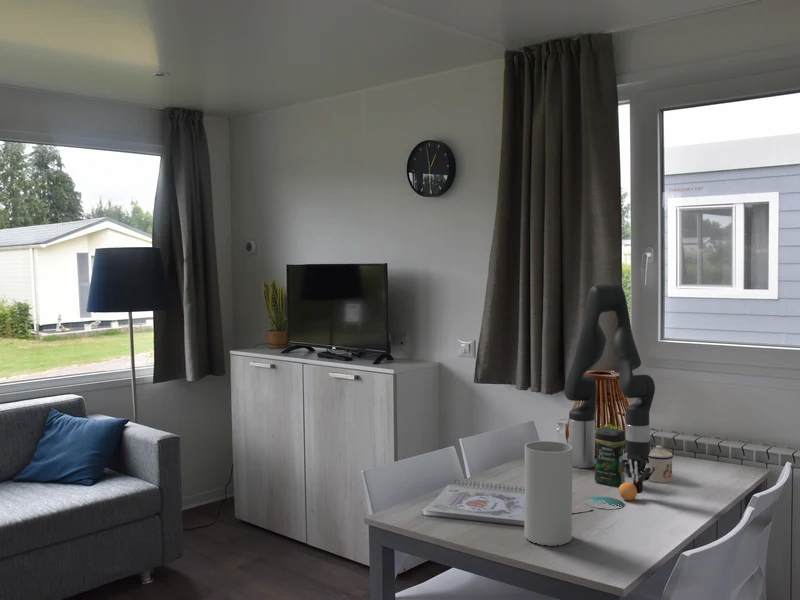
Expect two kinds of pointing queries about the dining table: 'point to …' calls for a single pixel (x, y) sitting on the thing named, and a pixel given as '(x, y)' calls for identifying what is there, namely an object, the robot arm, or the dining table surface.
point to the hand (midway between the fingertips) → (638, 492)
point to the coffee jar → (609, 456)
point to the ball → (627, 491)
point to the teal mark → (608, 501)
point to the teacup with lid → (660, 465)
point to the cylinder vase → (548, 493)
